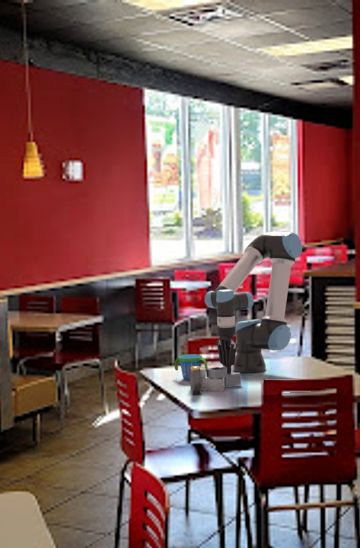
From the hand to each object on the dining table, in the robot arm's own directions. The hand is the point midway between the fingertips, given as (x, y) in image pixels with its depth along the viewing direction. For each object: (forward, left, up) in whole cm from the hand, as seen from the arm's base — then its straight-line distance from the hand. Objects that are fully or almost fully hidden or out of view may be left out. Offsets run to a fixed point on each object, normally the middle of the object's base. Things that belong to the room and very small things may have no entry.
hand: (227, 381), depth 353 cm
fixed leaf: (+10, -8, -2) cm, 13 cm away
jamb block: (+7, -12, -2) cm, 14 cm away
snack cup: (-14, -16, -2) cm, 22 cm away
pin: (+18, -12, -2) cm, 22 cm away
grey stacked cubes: (+6, -1, -1) cm, 7 cm away
